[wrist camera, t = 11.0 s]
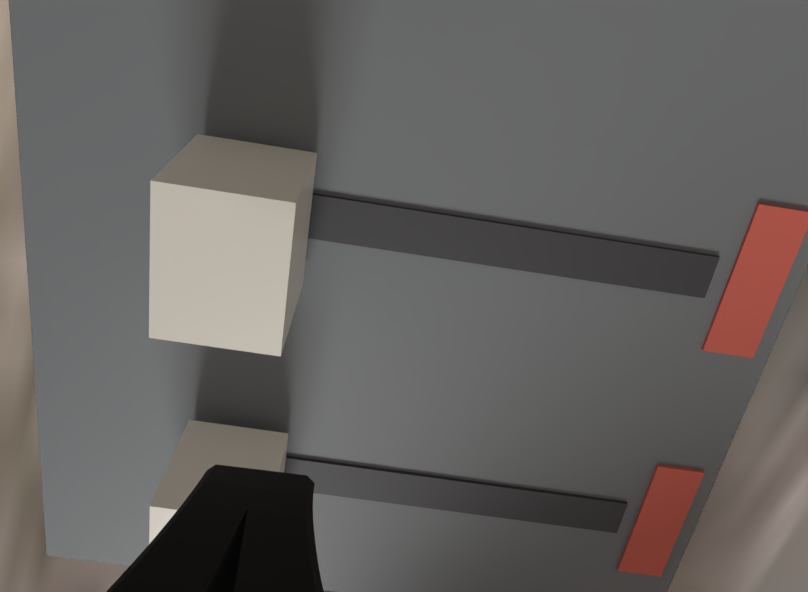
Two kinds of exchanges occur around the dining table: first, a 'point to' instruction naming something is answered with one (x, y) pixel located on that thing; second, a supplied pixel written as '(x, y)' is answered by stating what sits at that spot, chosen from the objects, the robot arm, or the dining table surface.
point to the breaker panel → (427, 268)
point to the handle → (212, 462)
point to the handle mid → (229, 243)
